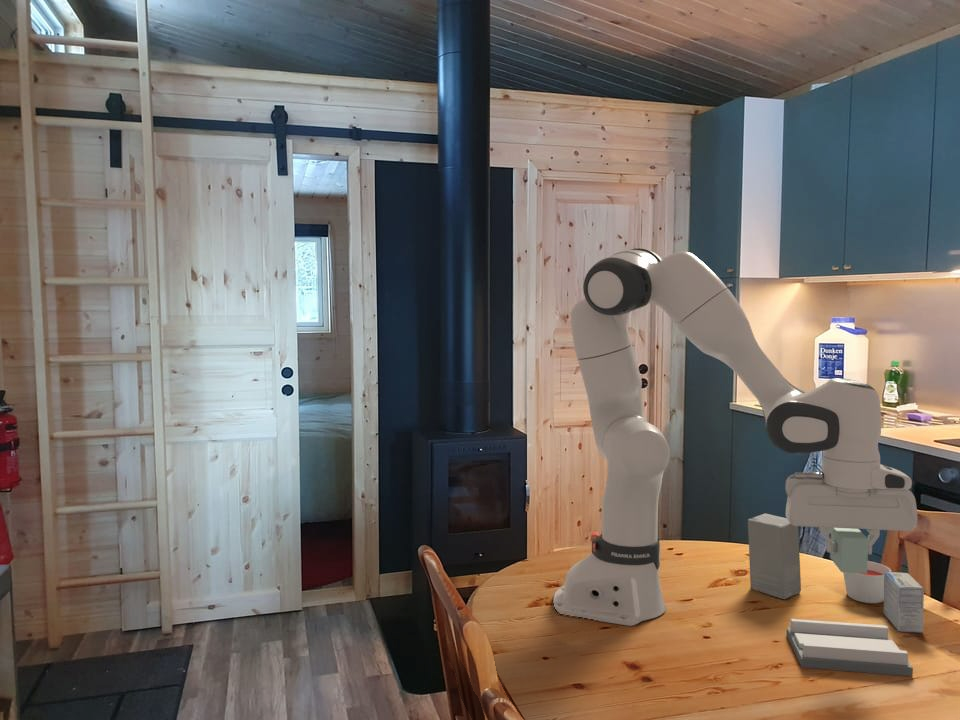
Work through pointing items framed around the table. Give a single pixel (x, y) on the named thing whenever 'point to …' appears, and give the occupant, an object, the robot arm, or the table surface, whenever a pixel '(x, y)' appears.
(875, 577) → the candle
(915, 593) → the medicine box
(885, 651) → the rail board
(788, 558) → the skincare box
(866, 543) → the rail module
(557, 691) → the table surface
